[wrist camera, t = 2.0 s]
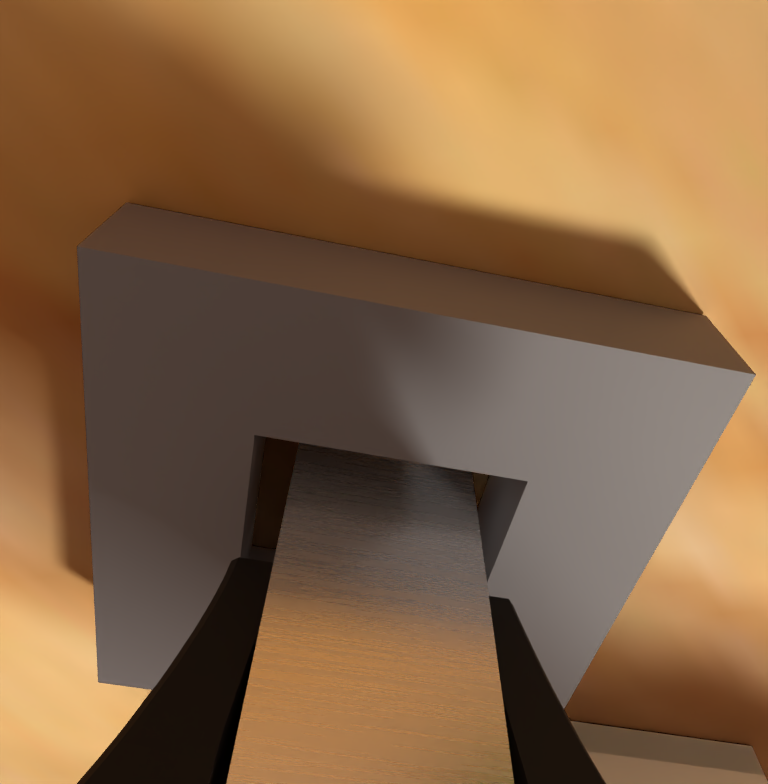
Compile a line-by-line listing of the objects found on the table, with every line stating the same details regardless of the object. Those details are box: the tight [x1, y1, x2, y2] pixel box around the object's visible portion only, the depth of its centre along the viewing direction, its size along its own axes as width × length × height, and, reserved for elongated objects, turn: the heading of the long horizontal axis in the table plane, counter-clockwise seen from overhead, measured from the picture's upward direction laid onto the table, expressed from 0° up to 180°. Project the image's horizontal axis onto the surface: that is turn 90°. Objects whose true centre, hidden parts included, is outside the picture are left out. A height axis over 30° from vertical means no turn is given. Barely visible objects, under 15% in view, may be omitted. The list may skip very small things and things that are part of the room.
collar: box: [77, 203, 756, 709], centre depth 13 cm, size 10×10×2 cm
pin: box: [226, 443, 514, 784], centre depth 11 cm, size 3×3×8 cm
